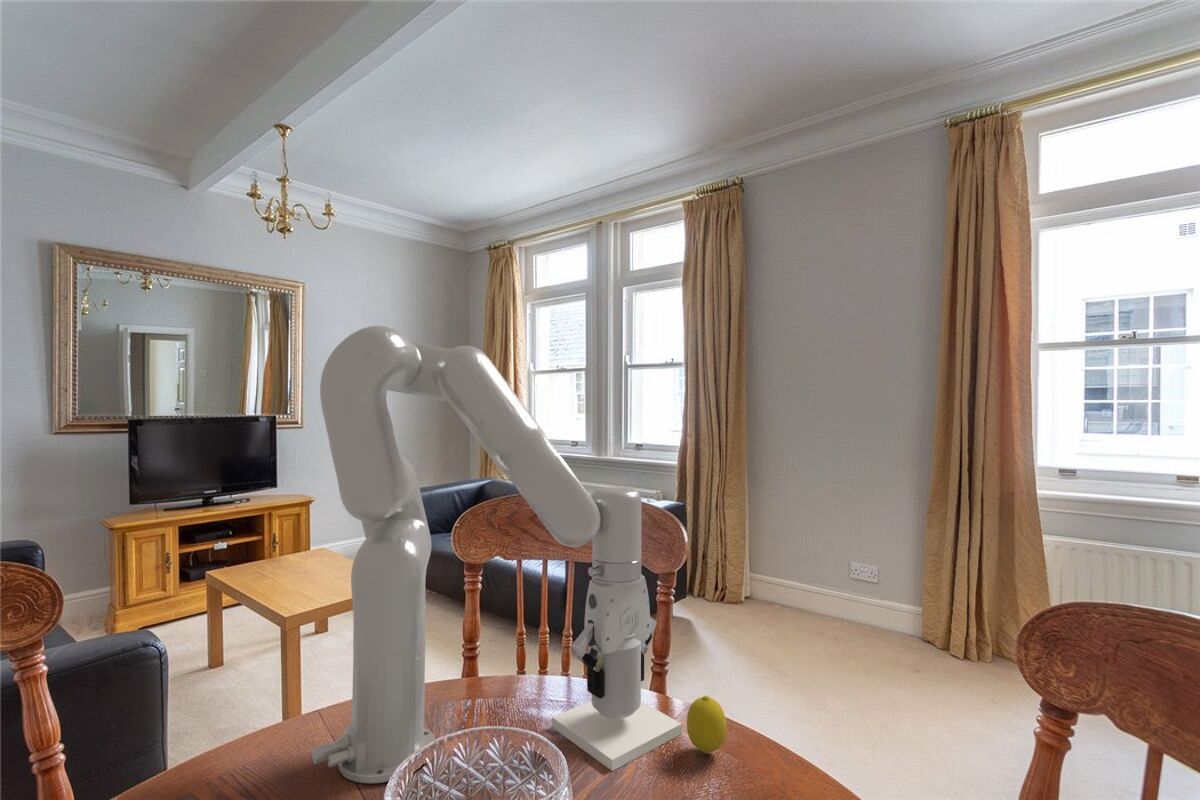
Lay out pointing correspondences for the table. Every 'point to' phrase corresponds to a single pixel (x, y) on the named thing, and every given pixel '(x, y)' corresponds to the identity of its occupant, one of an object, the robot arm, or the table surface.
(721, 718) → the lemon
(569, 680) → the table surface
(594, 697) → the can
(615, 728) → the plate
